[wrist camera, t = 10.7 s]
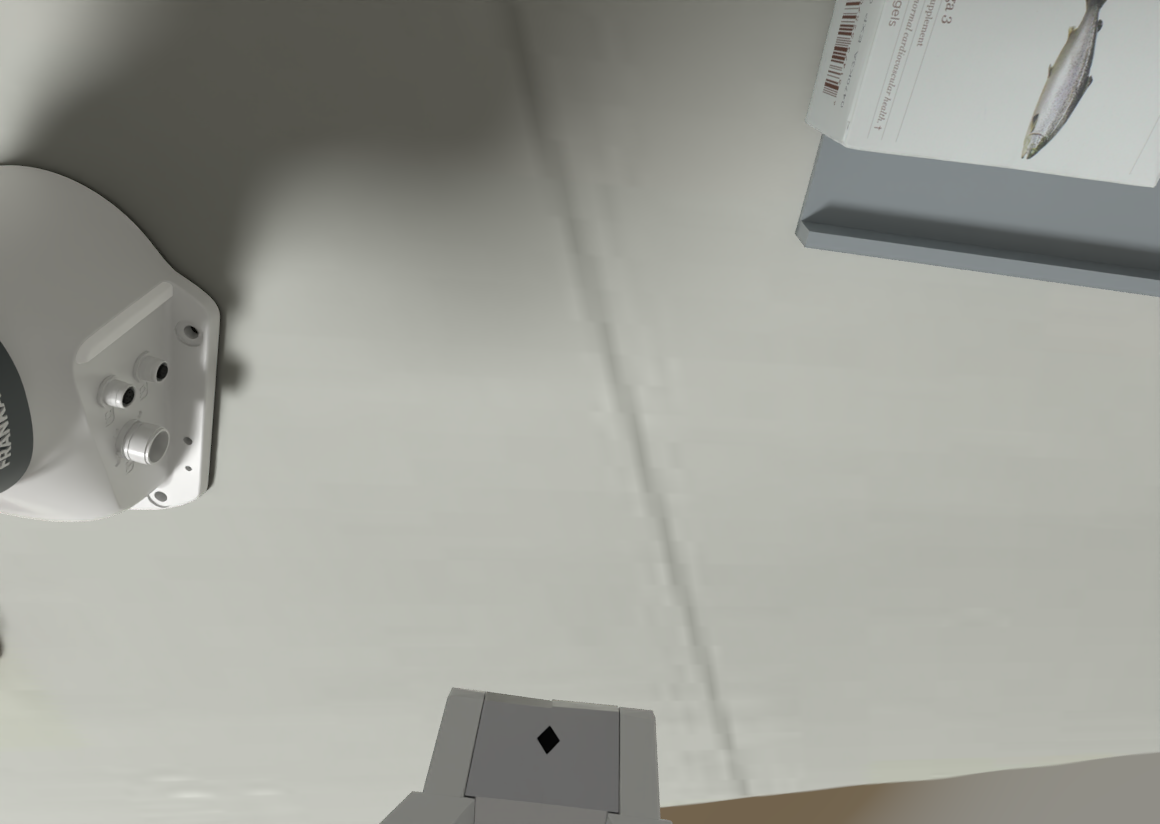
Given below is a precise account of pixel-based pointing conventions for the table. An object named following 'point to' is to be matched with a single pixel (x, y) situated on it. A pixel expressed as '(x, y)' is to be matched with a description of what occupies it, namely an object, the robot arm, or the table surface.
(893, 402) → the table surface
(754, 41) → the table surface
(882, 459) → the table surface
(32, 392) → the robot arm
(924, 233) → the tray
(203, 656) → the table surface
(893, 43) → the supplement box
